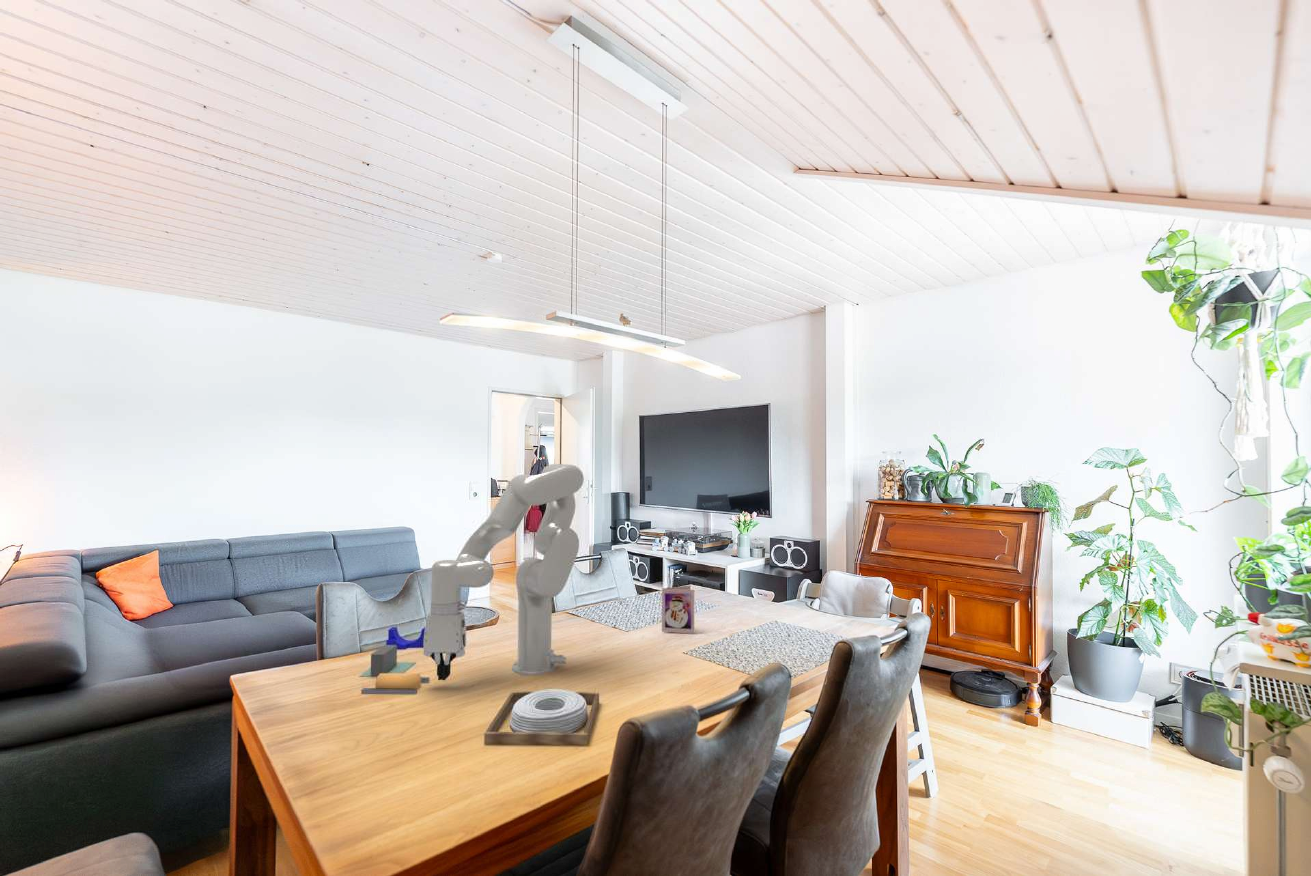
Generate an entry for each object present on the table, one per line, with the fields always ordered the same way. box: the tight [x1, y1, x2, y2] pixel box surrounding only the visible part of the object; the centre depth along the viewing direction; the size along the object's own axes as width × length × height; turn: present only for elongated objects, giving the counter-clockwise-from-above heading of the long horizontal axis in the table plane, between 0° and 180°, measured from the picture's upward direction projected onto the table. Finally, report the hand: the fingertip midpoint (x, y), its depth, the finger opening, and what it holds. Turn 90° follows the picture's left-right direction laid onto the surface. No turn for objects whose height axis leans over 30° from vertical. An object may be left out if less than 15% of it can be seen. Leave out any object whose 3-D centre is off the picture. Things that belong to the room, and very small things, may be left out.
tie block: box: [370, 644, 398, 676], centre depth 165 cm, size 4×8×6 cm, turn 179°
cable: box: [509, 688, 588, 733], centre depth 133 cm, size 18×18×6 cm
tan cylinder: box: [374, 673, 422, 690], centre depth 152 cm, size 10×4×4 cm, turn 89°
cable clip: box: [385, 626, 425, 651], centre depth 186 cm, size 12×4×6 cm, turn 92°
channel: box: [360, 676, 431, 695], centre depth 153 cm, size 14×9×2 cm, turn 89°
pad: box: [358, 661, 417, 678], centre depth 166 cm, size 11×11×1 cm
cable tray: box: [483, 690, 600, 747], centre depth 132 cm, size 22×22×4 cm
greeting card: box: [661, 585, 695, 634], centre depth 206 cm, size 11×7×15 cm, turn 80°
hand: (443, 678), depth 153 cm, fingers closed
